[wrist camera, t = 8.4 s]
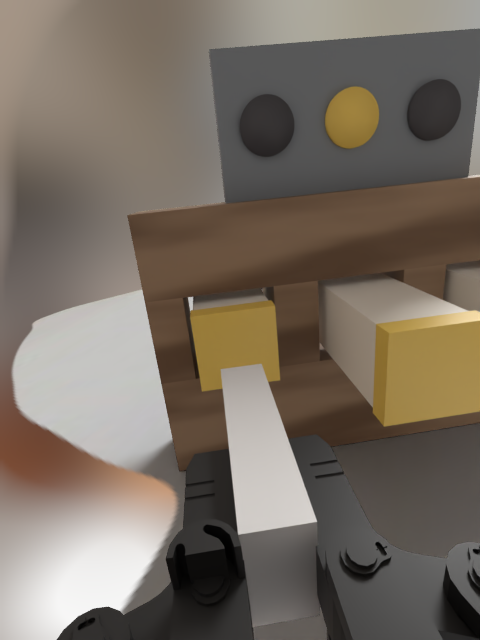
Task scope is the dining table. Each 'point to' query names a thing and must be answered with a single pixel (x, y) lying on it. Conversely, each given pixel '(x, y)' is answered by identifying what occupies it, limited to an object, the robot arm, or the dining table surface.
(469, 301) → the button
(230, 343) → the button
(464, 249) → the panel
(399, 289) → the button mid
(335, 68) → the card
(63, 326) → the dining table surface
